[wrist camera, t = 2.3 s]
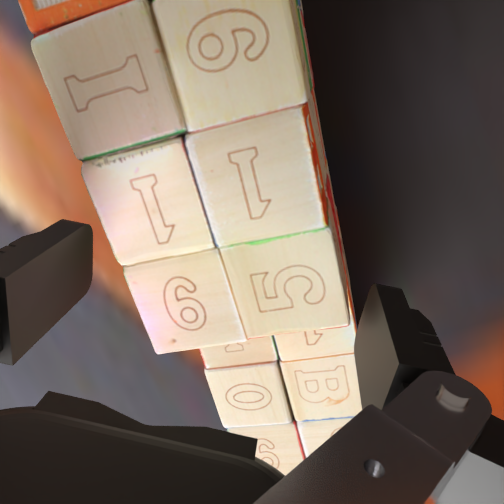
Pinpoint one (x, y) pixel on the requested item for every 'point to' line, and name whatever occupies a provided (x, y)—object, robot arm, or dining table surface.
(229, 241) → the stack of blocks
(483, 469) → the robot arm
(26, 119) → the dining table surface
